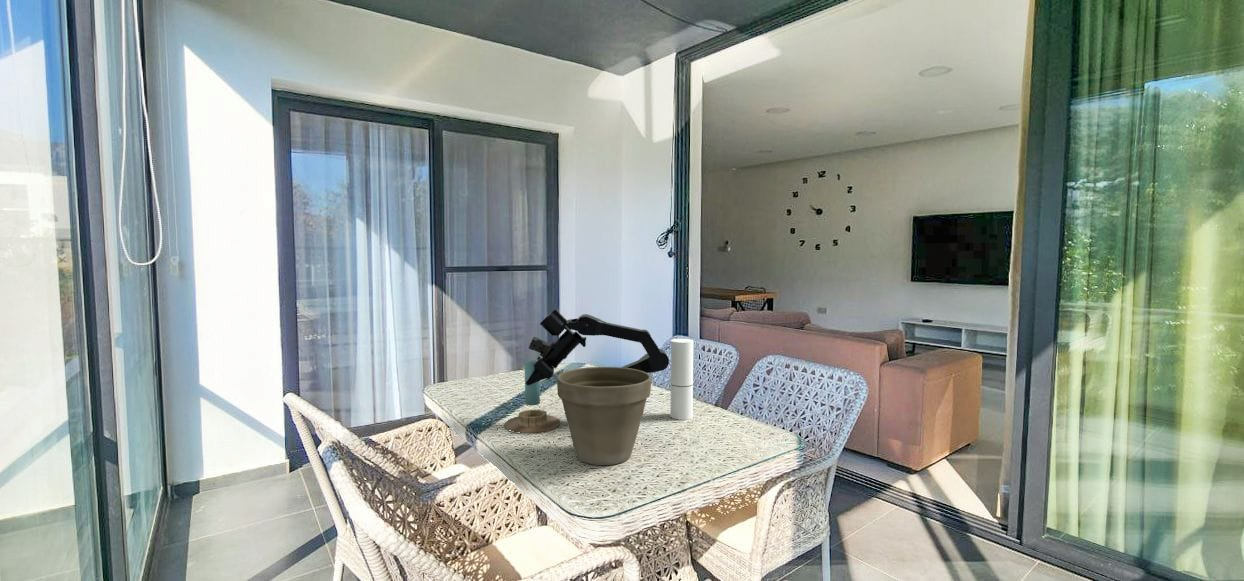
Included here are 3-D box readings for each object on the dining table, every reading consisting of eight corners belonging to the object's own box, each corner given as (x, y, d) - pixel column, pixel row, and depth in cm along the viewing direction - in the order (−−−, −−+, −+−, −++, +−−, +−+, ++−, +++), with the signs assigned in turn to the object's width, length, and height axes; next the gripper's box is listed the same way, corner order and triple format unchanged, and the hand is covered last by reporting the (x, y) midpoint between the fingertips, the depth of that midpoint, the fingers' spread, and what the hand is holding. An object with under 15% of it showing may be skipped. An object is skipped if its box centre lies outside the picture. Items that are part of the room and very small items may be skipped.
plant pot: (600, 433, 168) (600, 361, 166) (669, 452, 152) (669, 373, 150) (537, 457, 149) (536, 376, 147) (608, 483, 133) (608, 392, 131)
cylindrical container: (692, 413, 187) (693, 338, 185) (692, 420, 180) (693, 342, 177) (670, 412, 187) (671, 338, 185) (670, 419, 180) (670, 342, 178)
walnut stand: (570, 420, 180) (570, 409, 180) (542, 436, 164) (542, 425, 164) (524, 413, 187) (524, 403, 186) (493, 429, 171) (493, 418, 171)
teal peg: (540, 401, 177) (540, 360, 176) (539, 405, 173) (538, 363, 172) (526, 401, 177) (525, 360, 176) (524, 405, 173) (523, 363, 171)
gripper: (547, 324, 182) (513, 358, 183) (540, 333, 164) (503, 371, 164) (572, 348, 183) (538, 381, 184) (568, 360, 165) (531, 397, 165)
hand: (527, 382), depth 174 cm, fingers closed on teal peg, 4 cm apart
